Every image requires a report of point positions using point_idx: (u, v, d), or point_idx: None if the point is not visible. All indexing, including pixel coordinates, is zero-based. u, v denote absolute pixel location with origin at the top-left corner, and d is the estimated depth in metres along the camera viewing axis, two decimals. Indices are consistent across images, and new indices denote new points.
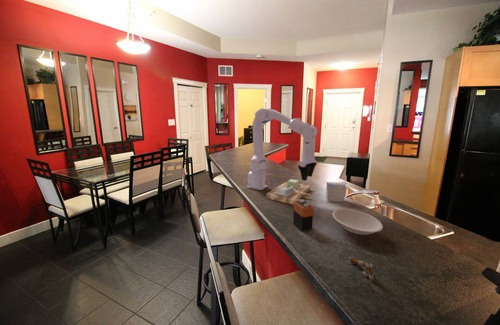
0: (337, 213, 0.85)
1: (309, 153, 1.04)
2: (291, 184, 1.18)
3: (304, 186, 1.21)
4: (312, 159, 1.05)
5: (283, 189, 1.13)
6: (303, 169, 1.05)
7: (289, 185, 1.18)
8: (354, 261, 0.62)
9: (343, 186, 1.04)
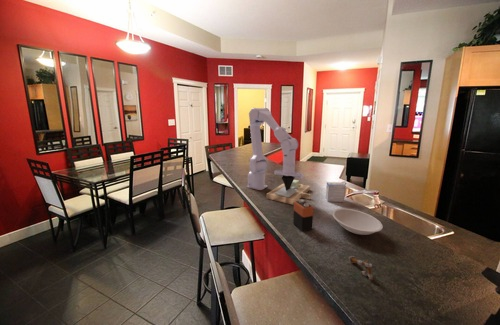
0: (337, 213, 0.85)
1: None
2: (291, 184, 1.18)
3: (304, 186, 1.21)
4: (284, 171, 1.06)
5: (284, 189, 1.12)
6: None
7: None
8: (353, 260, 0.62)
9: (343, 186, 1.04)
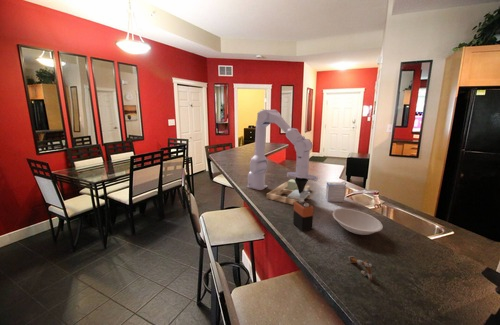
0: (337, 213, 0.85)
1: (296, 166, 1.04)
2: (291, 184, 1.18)
3: None
4: (297, 173, 1.03)
5: (297, 192, 1.09)
6: None
7: (289, 185, 1.18)
8: (353, 260, 0.62)
9: (343, 186, 1.04)
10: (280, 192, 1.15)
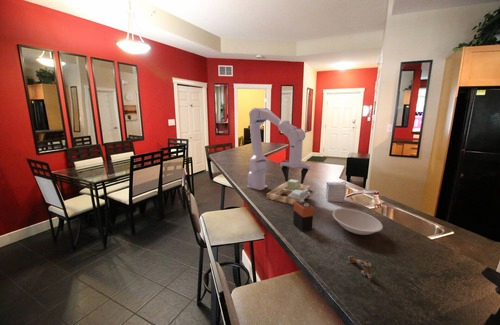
0: (337, 213, 0.85)
1: (289, 156, 1.05)
2: (291, 184, 1.18)
3: (304, 186, 1.21)
4: (291, 163, 1.04)
5: (297, 192, 1.09)
6: None
7: (289, 185, 1.18)
8: (353, 260, 0.62)
9: (343, 186, 1.04)
10: (280, 192, 1.15)
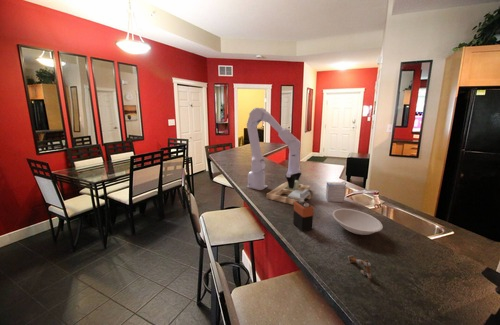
0: (337, 213, 0.85)
1: (294, 164, 1.14)
2: None
3: (304, 186, 1.21)
4: (297, 170, 1.15)
5: (297, 192, 1.09)
6: (290, 178, 1.16)
7: None
8: (352, 260, 0.62)
9: (343, 186, 1.04)
10: (280, 192, 1.15)
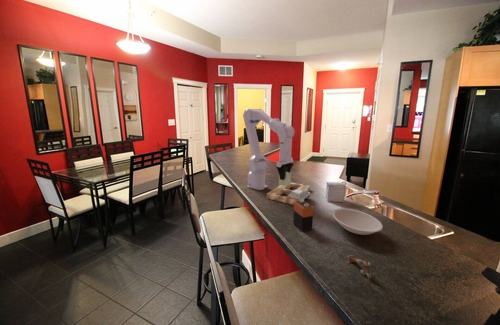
0: (337, 213, 0.85)
1: (285, 153, 1.04)
2: None
3: (304, 186, 1.21)
4: (289, 159, 1.05)
5: (297, 192, 1.09)
6: (281, 169, 1.06)
7: None
8: (352, 259, 0.62)
9: (343, 186, 1.04)
10: (280, 192, 1.15)
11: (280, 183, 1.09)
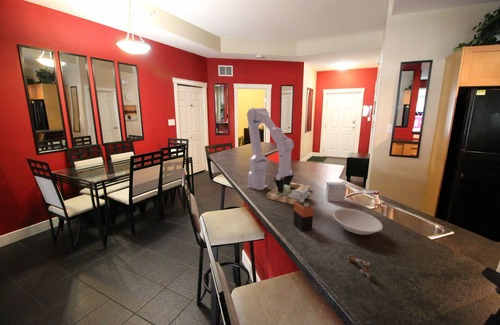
0: (337, 213, 0.85)
1: (285, 166, 1.05)
2: None
3: (304, 186, 1.21)
4: (288, 172, 1.07)
5: (297, 192, 1.09)
6: (279, 182, 1.07)
7: None
8: (352, 259, 0.63)
9: (343, 186, 1.04)
10: None
11: None
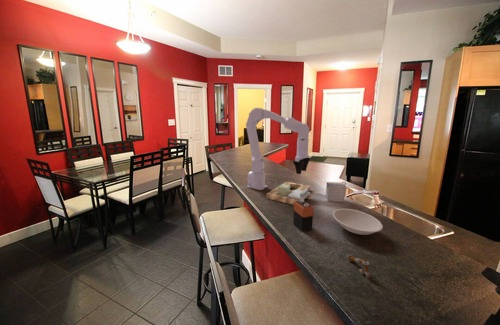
0: (337, 213, 0.85)
1: (303, 149, 1.13)
2: (282, 190, 1.09)
3: (304, 186, 1.21)
4: (306, 154, 1.15)
5: (297, 192, 1.09)
6: (297, 164, 1.15)
7: (279, 191, 1.10)
8: (351, 259, 0.63)
9: (343, 186, 1.04)
10: None
11: None
